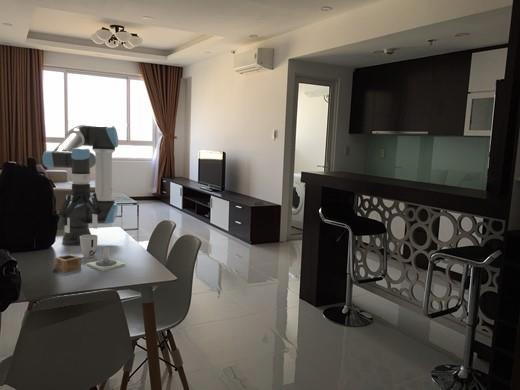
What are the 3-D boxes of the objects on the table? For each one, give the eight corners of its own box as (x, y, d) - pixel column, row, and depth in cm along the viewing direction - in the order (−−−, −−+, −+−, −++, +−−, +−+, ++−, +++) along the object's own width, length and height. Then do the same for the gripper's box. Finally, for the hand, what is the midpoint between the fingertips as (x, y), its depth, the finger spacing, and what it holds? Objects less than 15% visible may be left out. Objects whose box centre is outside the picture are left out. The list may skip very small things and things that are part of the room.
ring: (54, 268, 189) (54, 257, 189) (71, 264, 196) (71, 254, 195) (63, 272, 184) (63, 261, 184) (81, 268, 191) (81, 257, 190)
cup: (91, 259, 205) (91, 238, 204) (76, 257, 207) (76, 237, 206) (100, 254, 213) (100, 235, 212) (86, 253, 215) (86, 233, 214)
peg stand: (86, 265, 195) (86, 247, 194) (109, 260, 205) (109, 243, 204) (102, 271, 188) (102, 252, 187) (125, 265, 198) (125, 247, 197)
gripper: (58, 185, 177) (59, 235, 179) (110, 182, 197) (110, 227, 200) (48, 183, 181) (49, 233, 183) (100, 181, 201) (100, 225, 204)
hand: (81, 230), depth 191 cm, fingers open, 13 cm apart
